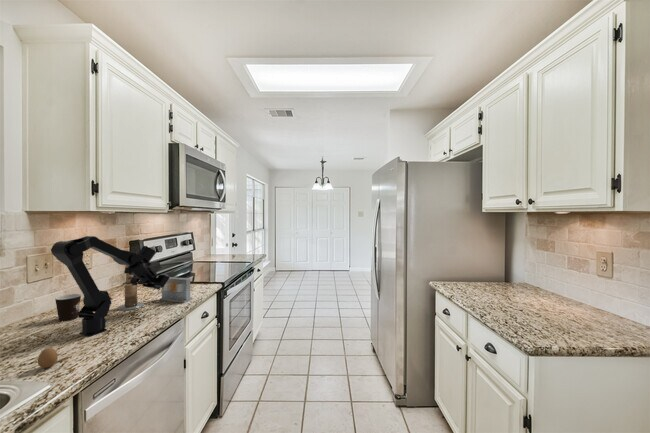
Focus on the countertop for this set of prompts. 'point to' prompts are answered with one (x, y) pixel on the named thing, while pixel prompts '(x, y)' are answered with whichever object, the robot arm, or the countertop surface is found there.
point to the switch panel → (176, 290)
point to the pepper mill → (130, 293)
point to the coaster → (123, 308)
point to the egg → (47, 358)
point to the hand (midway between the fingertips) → (159, 288)
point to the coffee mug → (68, 306)
